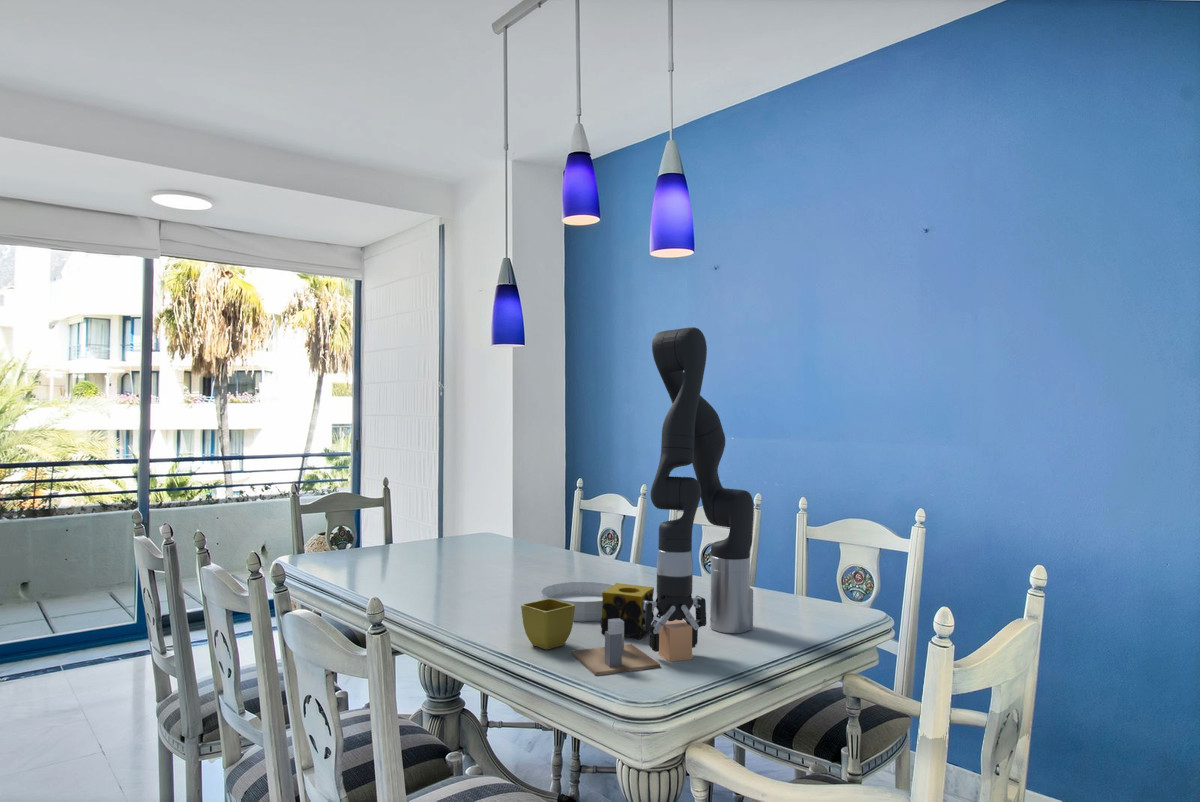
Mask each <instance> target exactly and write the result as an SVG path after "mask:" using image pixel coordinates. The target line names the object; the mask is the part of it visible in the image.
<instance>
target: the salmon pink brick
mask: <svg viewBox="0 0 1200 802" xmlns="http://www.w3.org/2000/svg"><path fill="white" fill-rule="evenodd" d="M658 634H659V651H658V655H659V656H661V657H662V658H664V659H665V660H666V661H668V662H670V663H671V662H677V661H679V662H680V661H685V660H692V659H693V648H692V626H691V625H689V624H687V623H686V621H685V620H674V621H668V620H667V622H666V624H665V625H664V626H662V627H661V629H660V630H659V632H658Z"/></svg>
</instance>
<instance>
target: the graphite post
mask: <svg viewBox="0 0 1200 802" xmlns="http://www.w3.org/2000/svg"><path fill="white" fill-rule="evenodd" d="M604 647H605V664H606V665H607V666H608V667H617V666H622V633H620V632H619V631H617V630H613V631H605V635H604Z"/></svg>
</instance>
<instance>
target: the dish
mask: <svg viewBox="0 0 1200 802" xmlns="http://www.w3.org/2000/svg"><path fill="white" fill-rule="evenodd" d="M613 585H614V584H610V583H609V584H608V583H603V582H593V581H569V582H561V583H560V582H559V583H555V584H551V585H547V586H546V587H544V588H542V590H541V593H540V594H541V597H540V598H541V599H540V600H544V599H549V598H550V599H555V600H558V601H562V602H566V603H570V604H574V605H575V611H574V619H573V622H592V621H593V622H595V621H602V620H601V618H602V605H603V603H602V600H603V598H602V592H604V591H605V590H607V589H608V588H610V587H611V586H613Z"/></svg>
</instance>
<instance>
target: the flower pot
mask: <svg viewBox="0 0 1200 802" xmlns="http://www.w3.org/2000/svg"><path fill="white" fill-rule="evenodd" d="M520 608H521V615H522V616H521V617H522V623H523V628H524V629H523V630H524V633H525V635H526V636H527V638H528V640H529V642H530V644H531V645H532V646H535V647H538V648H541V649H543V650H551V649H554V648H557V647H562V646H564V645H565V644H566V642H567V640H568V638H569V637H570V634H571V633H572V629H573V625H574V621H573V619H574V611H575V605H574V604H570V603H566V602H562V601H558V600H555V599H550V598H549V599H544V600H541V599H540V600H537V601H531V602H526V603H523V604H520Z"/></svg>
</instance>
